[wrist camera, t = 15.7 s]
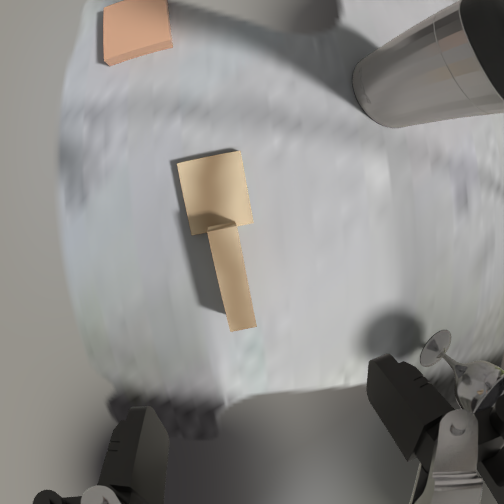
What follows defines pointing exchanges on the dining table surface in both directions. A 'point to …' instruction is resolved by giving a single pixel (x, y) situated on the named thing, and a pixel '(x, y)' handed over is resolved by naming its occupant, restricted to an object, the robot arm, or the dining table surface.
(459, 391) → the wine glass
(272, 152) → the dining table surface
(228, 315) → the turner
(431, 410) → the robot arm
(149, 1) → the tile
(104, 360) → the dining table surface
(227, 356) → the dining table surface
